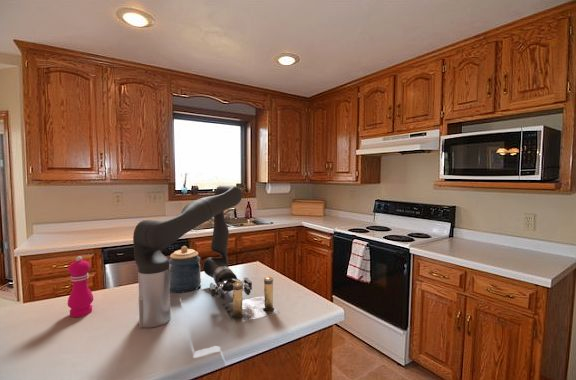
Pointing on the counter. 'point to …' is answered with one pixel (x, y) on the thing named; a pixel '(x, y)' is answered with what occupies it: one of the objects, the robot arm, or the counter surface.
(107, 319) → the counter surface
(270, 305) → the fixed brass leg
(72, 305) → the pepper mill
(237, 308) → the loose brass leg
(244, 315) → the flange plate
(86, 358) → the counter surface
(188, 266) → the canister
